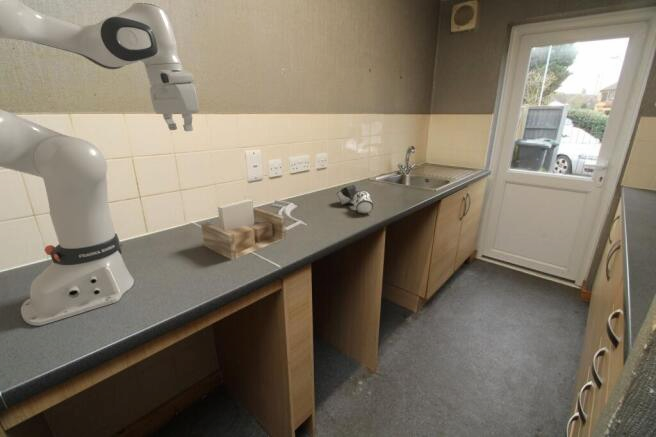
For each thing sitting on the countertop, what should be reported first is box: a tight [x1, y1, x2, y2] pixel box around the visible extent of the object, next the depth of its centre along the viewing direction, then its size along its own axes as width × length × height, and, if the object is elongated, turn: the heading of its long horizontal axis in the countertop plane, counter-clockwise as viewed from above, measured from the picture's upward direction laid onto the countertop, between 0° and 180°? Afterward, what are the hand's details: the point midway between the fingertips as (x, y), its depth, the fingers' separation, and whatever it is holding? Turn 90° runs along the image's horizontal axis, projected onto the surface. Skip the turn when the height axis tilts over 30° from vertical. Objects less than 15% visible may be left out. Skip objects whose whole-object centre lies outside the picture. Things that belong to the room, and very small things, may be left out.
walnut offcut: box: [250, 222, 273, 243], centre depth 108 cm, size 6×4×5 cm, turn 140°
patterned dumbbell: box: [336, 184, 374, 215], centre depth 147 cm, size 25×10×10 cm, turn 25°
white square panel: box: [217, 198, 255, 231], centre depth 107 cm, size 12×2×13 cm, turn 140°
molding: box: [271, 199, 308, 232], centre depth 136 cm, size 42×12×3 cm, turn 14°
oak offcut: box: [228, 226, 255, 253], centre depth 101 cm, size 8×5×6 cm, turn 140°
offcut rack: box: [200, 207, 287, 261], centre depth 105 cm, size 22×16×10 cm
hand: (180, 130), depth 88 cm, fingers open, 8 cm apart
